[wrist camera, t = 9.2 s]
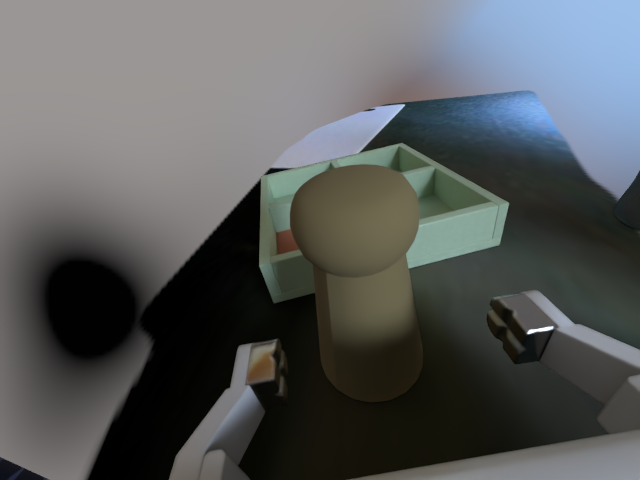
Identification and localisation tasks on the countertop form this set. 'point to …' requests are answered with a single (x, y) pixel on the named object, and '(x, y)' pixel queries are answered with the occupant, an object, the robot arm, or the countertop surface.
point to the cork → (362, 277)
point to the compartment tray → (434, 216)
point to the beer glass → (630, 205)
